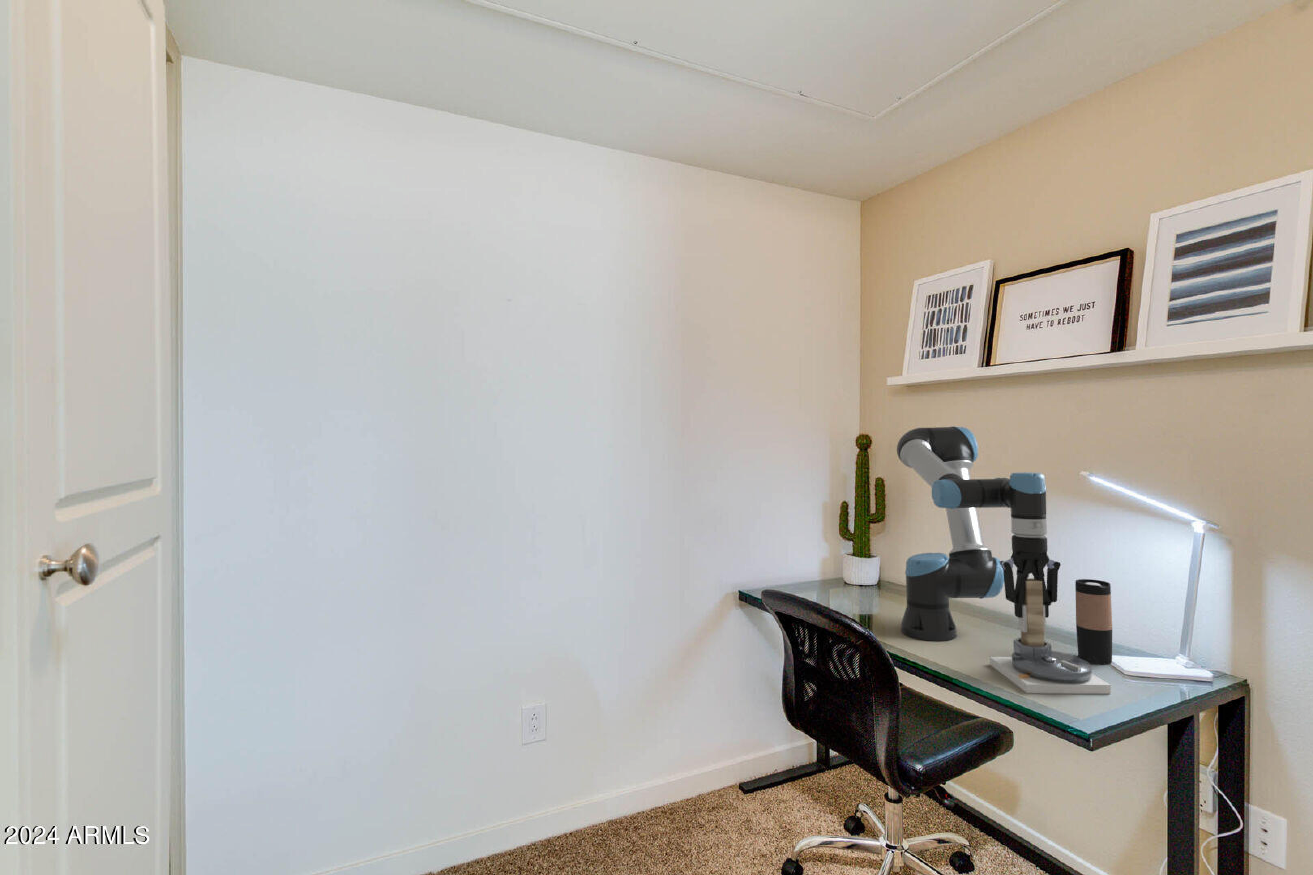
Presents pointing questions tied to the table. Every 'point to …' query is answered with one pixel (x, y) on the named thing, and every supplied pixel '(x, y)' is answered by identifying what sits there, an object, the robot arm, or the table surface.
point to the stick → (1033, 614)
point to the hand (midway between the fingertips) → (1032, 630)
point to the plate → (1048, 681)
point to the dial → (1049, 663)
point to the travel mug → (1094, 621)
